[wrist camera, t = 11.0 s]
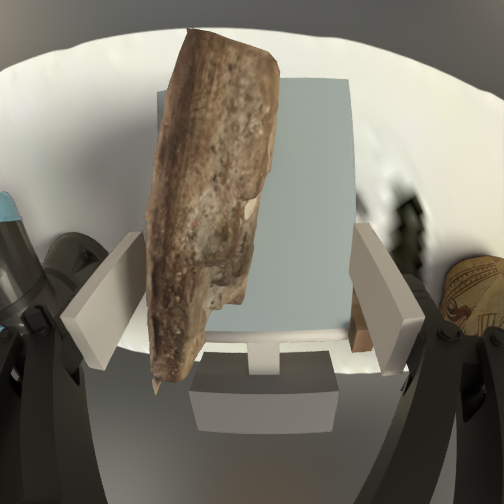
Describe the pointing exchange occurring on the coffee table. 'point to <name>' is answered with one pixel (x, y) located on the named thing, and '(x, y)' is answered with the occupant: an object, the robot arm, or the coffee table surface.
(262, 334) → the trapdoor
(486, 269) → the ceramic vessel
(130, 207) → the coffee table surface
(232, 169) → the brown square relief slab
